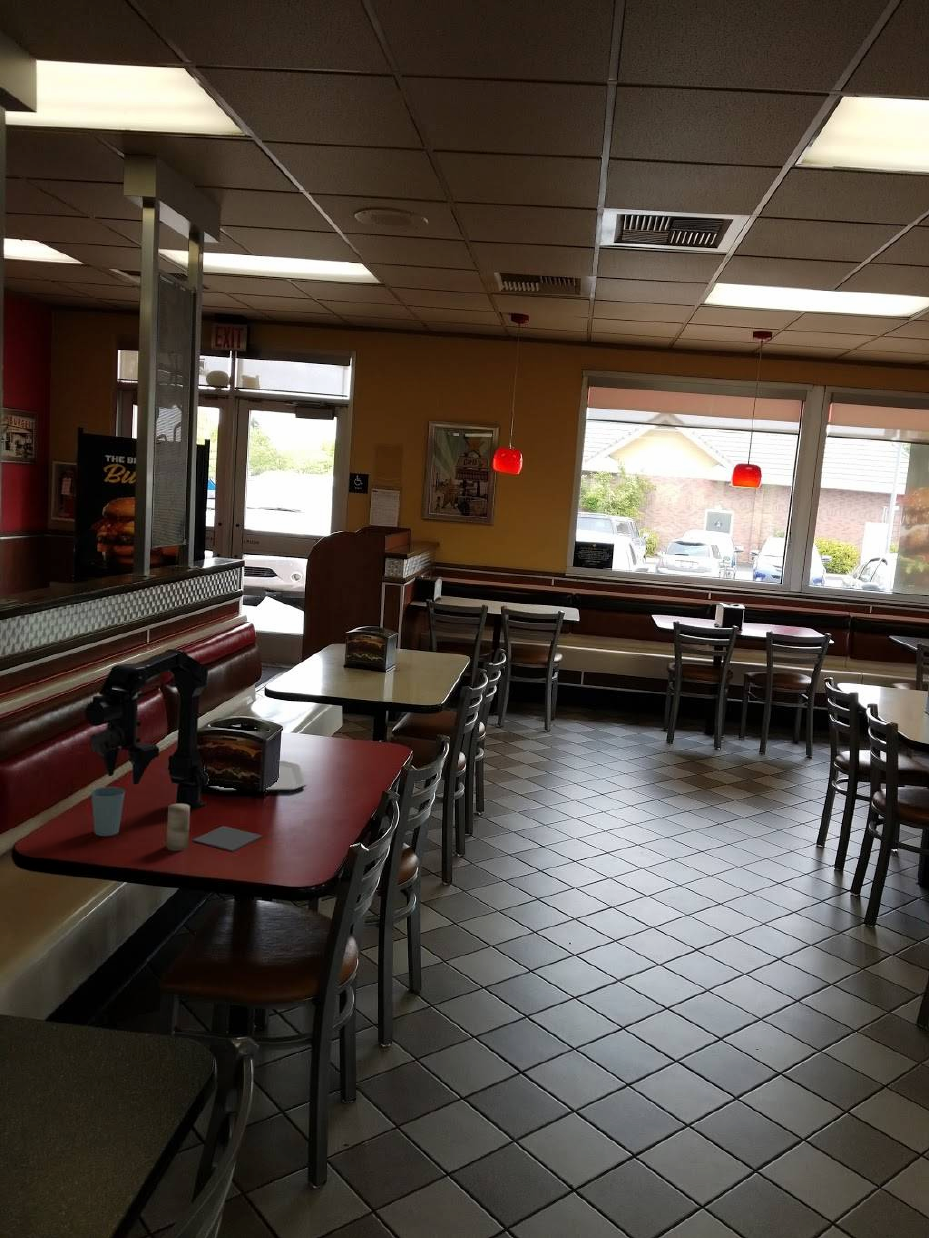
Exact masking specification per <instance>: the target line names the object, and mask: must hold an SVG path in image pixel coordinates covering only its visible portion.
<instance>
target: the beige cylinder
mask: <svg viewBox="0 0 929 1238" xmlns="http://www.w3.org/2000/svg"><path fill="white" fill-rule="evenodd" d="M190 814H191V811H190V806H189V805H187V804H174V803H173V804H170V805H168V807H167V824H166V825H167V827H166V845H165V847H166V849H167V850H169V851H173V852H181V851H185V850H187V849H188V848H189V837H190V835H189V834H190V817H191V816H190Z"/></svg>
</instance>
